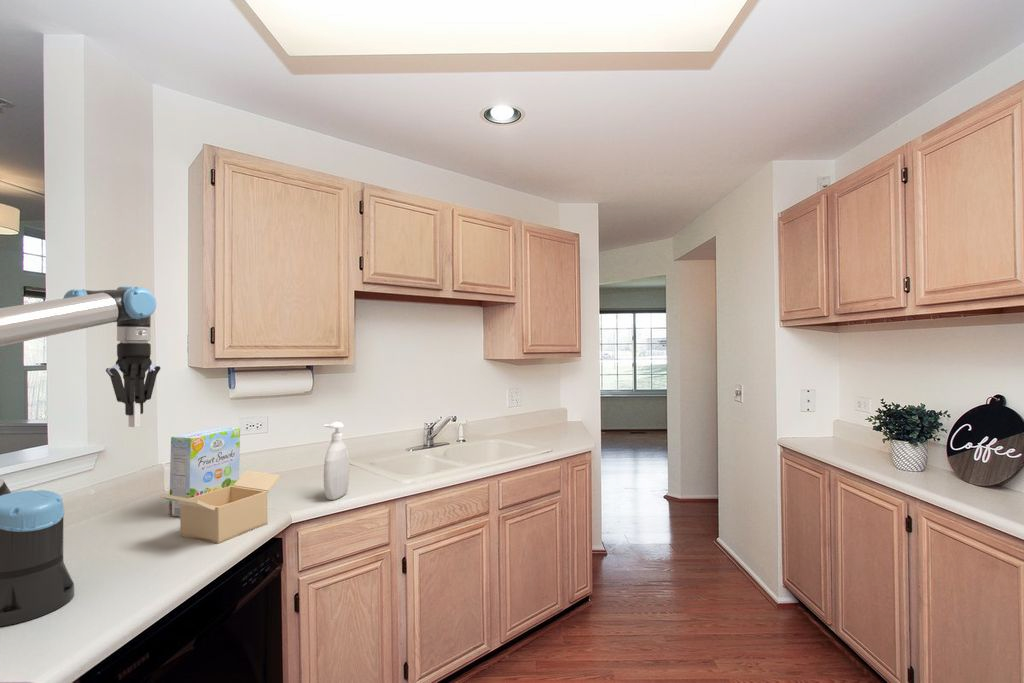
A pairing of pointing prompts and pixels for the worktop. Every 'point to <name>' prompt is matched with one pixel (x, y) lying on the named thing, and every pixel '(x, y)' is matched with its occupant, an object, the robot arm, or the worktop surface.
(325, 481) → the soap bottle
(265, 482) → the flap
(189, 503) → the flap
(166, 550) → the worktop surface
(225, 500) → the carton
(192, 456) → the snack box
